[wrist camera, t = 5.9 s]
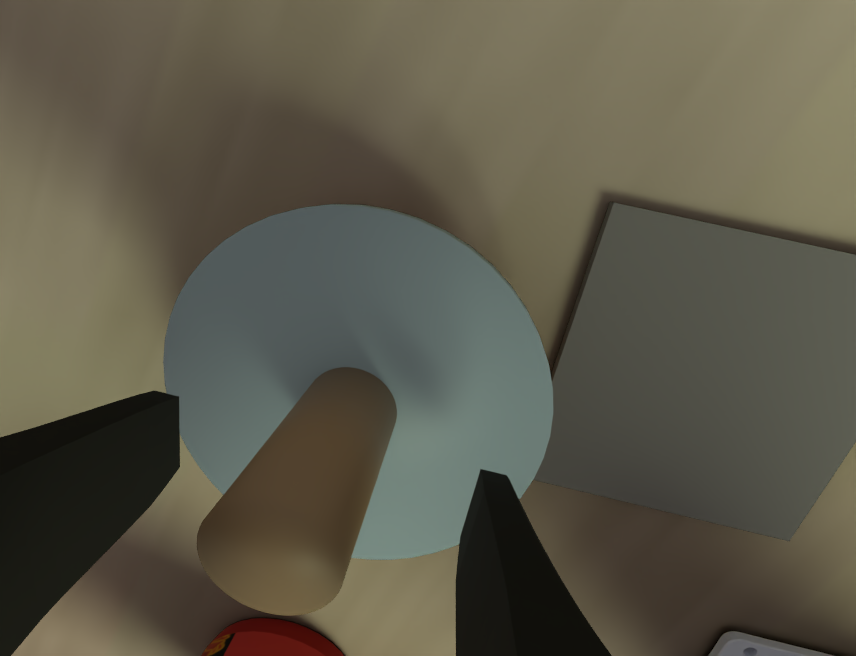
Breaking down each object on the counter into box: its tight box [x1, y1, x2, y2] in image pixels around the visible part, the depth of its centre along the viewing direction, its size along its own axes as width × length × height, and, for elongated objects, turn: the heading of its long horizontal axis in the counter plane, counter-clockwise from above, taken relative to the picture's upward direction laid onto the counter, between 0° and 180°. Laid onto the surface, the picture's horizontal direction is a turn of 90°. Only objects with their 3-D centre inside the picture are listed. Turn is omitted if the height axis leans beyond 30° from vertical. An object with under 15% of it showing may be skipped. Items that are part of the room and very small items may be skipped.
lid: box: [163, 204, 553, 616], centre depth 10 cm, size 11×11×6 cm
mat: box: [533, 202, 856, 541], centre depth 14 cm, size 10×10×1 cm
